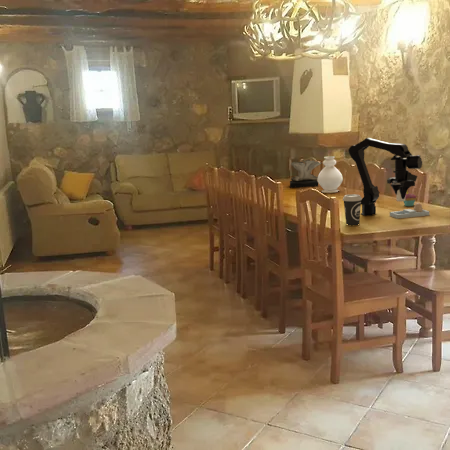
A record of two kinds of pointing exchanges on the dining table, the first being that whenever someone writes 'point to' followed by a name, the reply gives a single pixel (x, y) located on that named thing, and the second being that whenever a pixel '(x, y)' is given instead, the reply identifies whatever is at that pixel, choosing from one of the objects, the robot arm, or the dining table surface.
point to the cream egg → (399, 196)
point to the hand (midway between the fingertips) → (400, 198)
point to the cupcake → (410, 199)
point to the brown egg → (418, 207)
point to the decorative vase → (330, 176)
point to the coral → (304, 174)
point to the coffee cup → (352, 208)
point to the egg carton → (408, 213)
